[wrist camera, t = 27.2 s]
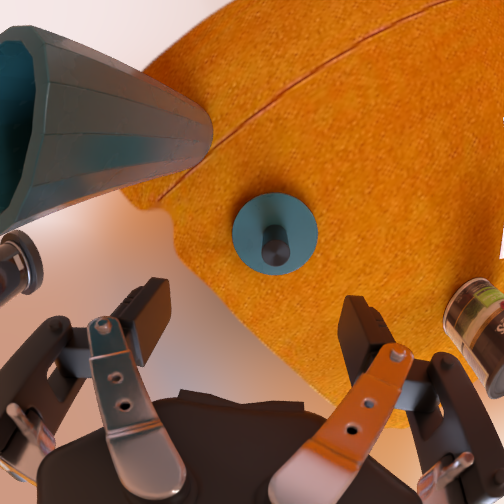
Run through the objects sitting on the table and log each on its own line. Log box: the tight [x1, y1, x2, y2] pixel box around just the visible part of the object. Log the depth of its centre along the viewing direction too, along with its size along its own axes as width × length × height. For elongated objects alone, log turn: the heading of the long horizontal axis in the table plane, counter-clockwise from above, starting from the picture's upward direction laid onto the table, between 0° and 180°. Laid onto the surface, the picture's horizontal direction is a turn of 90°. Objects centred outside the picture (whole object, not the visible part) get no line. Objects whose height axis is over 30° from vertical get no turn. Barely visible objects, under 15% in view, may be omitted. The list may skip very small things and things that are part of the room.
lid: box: [232, 192, 318, 275], centre depth 26 cm, size 9×9×6 cm
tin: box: [0, 25, 213, 236], centre depth 16 cm, size 8×8×22 cm
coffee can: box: [443, 278, 504, 399], centre depth 24 cm, size 10×10×14 cm
